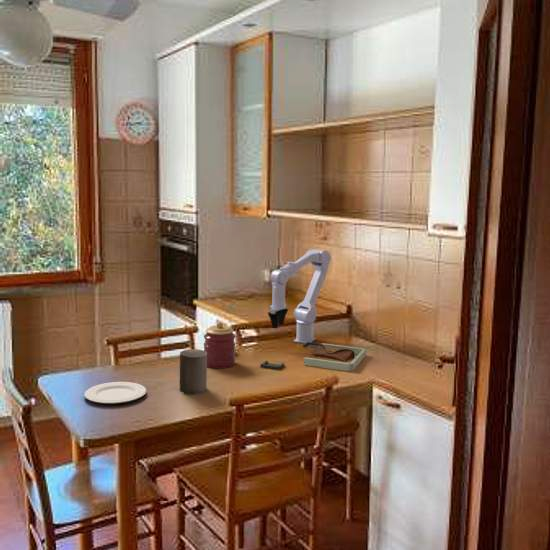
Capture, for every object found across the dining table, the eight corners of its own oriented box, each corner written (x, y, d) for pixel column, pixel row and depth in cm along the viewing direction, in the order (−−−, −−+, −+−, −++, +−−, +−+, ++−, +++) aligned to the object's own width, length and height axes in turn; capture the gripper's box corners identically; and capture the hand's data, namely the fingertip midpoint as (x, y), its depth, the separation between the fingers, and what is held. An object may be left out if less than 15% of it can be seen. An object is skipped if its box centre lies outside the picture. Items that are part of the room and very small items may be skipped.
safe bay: (321, 349, 273) (322, 343, 273) (366, 355, 266) (366, 348, 265) (303, 365, 250) (304, 358, 249) (351, 371, 243) (352, 364, 242)
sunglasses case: (308, 354, 264) (312, 340, 266) (314, 359, 270) (318, 345, 272) (346, 362, 255) (350, 347, 257) (352, 366, 261) (355, 351, 263)
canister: (215, 371, 240) (215, 327, 237) (197, 363, 249) (197, 321, 247) (241, 365, 248) (242, 322, 245) (223, 357, 258) (223, 316, 255)
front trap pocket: (266, 363, 251) (266, 360, 251) (284, 365, 248) (284, 363, 248) (260, 367, 246) (260, 364, 245) (279, 370, 243) (279, 367, 243)
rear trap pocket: (306, 344, 281) (306, 341, 281) (323, 346, 278) (323, 343, 278) (303, 347, 277) (303, 344, 276) (319, 349, 274) (320, 346, 274)
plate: (75, 393, 212) (75, 388, 212) (131, 382, 225) (131, 377, 224) (98, 412, 196) (98, 407, 196) (157, 399, 209) (157, 394, 208)
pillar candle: (176, 393, 214) (177, 352, 212) (182, 384, 224) (183, 344, 221) (204, 395, 214) (204, 353, 211) (208, 385, 223) (209, 346, 221)
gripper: (276, 293, 281) (275, 321, 283) (264, 298, 268) (263, 328, 270) (290, 294, 279) (289, 323, 281) (279, 300, 265) (278, 330, 268)
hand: (277, 326), depth 275 cm, fingers open, 7 cm apart
